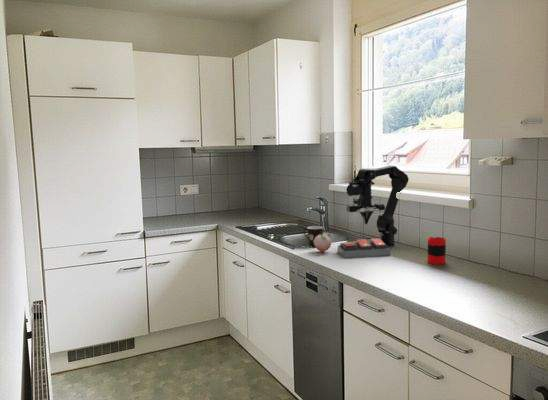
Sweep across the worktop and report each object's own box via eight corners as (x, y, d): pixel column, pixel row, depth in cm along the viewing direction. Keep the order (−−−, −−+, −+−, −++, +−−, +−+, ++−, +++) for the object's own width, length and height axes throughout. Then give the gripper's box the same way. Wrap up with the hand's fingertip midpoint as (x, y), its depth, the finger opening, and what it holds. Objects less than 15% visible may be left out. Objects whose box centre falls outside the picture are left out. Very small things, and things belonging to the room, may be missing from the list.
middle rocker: (365, 241, 234) (365, 238, 234) (370, 248, 227) (370, 245, 226) (356, 241, 234) (356, 239, 233) (361, 248, 226) (361, 246, 226)
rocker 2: (379, 240, 235) (379, 238, 235) (385, 246, 228) (385, 244, 227) (371, 241, 235) (371, 238, 234) (376, 247, 227) (376, 244, 227)
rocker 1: (350, 245, 233) (350, 242, 233) (355, 245, 225) (355, 243, 226) (342, 245, 233) (341, 242, 233) (346, 246, 225) (346, 243, 225)
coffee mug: (326, 246, 248) (326, 228, 247) (311, 248, 245) (311, 229, 244) (316, 242, 259) (316, 224, 257) (302, 244, 256) (302, 226, 254)
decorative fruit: (334, 253, 234) (334, 233, 232) (320, 255, 230) (320, 235, 229) (325, 249, 242) (324, 230, 241) (311, 251, 239) (310, 232, 237)
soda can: (430, 265, 208) (430, 238, 206) (425, 260, 215) (425, 235, 214) (447, 264, 208) (448, 238, 206) (442, 260, 215) (442, 234, 213)
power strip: (381, 249, 238) (381, 240, 237) (390, 255, 226) (390, 245, 226) (337, 252, 235) (337, 242, 235) (344, 258, 223) (344, 248, 223)
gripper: (377, 191, 246) (377, 220, 248) (343, 193, 243) (343, 222, 246) (385, 193, 235) (385, 224, 237) (349, 195, 233) (350, 226, 235)
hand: (365, 224), depth 239 cm, fingers closed
